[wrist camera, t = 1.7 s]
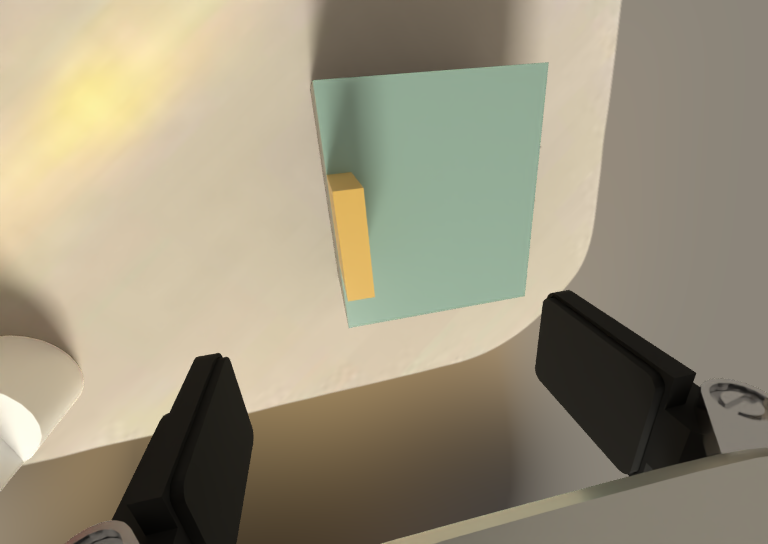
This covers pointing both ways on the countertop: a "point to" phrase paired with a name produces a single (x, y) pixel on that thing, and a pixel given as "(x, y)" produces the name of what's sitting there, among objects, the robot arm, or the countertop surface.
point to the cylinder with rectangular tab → (32, 397)
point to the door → (431, 186)
